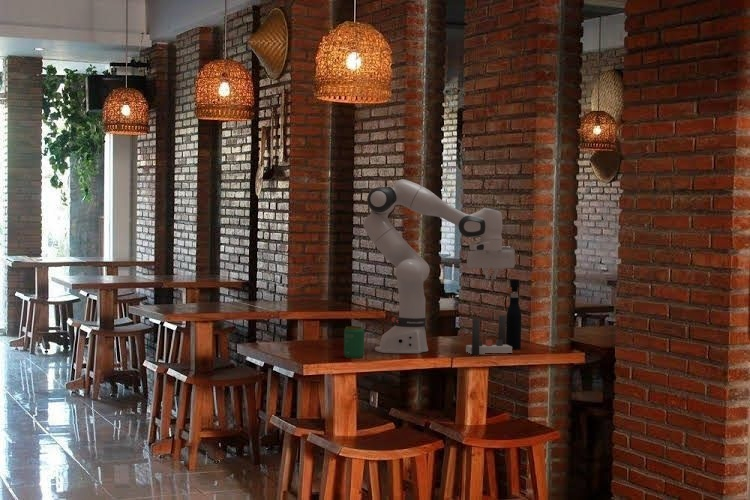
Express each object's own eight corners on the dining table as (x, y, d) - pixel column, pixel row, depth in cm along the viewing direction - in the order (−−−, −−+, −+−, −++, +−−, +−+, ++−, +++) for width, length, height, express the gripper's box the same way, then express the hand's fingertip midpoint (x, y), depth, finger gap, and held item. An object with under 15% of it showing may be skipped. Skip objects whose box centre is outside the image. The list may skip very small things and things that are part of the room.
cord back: (499, 351, 451) (500, 315, 450) (497, 350, 454) (497, 315, 453) (506, 350, 451) (506, 315, 451) (503, 350, 454) (504, 315, 454)
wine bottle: (520, 350, 455) (521, 280, 454) (505, 349, 456) (506, 280, 455) (521, 348, 461) (522, 279, 460) (506, 347, 463) (507, 279, 461)
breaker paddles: (476, 346, 442) (476, 340, 442) (475, 345, 443) (475, 339, 443) (502, 345, 445) (502, 340, 444) (501, 345, 446) (501, 339, 446)
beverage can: (367, 357, 425) (368, 327, 424) (351, 359, 420) (351, 328, 420) (356, 355, 431) (356, 325, 431) (340, 356, 427) (340, 326, 426)
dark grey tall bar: (473, 356, 434) (473, 319, 434) (470, 355, 437) (471, 318, 436) (480, 356, 435) (480, 319, 434) (477, 354, 438) (478, 318, 437)
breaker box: (470, 354, 439) (471, 347, 439) (465, 352, 446) (466, 345, 445) (512, 353, 443) (512, 346, 442) (506, 351, 449) (506, 344, 449)
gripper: (512, 246, 447) (511, 278, 448) (466, 245, 443) (465, 278, 444) (517, 246, 441) (516, 279, 442) (470, 246, 437) (469, 279, 437)
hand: (490, 279), depth 443 cm, fingers closed
